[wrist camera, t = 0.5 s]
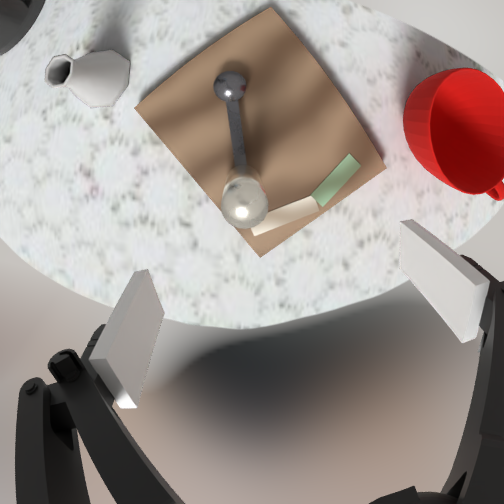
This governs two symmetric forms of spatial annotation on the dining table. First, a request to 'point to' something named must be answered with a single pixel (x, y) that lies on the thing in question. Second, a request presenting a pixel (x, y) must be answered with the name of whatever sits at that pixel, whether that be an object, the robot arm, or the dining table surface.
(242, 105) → the board
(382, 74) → the dining table surface
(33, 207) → the dining table surface
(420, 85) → the ceramic cup
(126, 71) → the flask
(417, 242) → the robot arm
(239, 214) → the metal crank handle
